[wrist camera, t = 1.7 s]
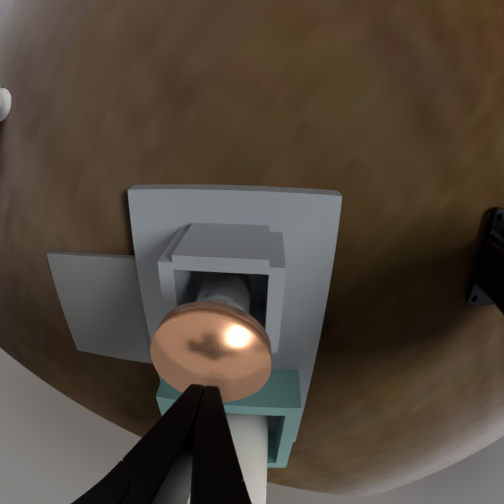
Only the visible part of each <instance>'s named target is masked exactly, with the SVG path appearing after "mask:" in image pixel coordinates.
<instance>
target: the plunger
mask: <svg viewBox="0 0 504 504" xmlns="http://www.w3.org/2000/svg"><path fill="white" fill-rule="evenodd" d="M250 296H251V281H250V278H249V276H248V275H247V274H245V273H225V272H207V273H206V274H205V276H204V279H203V282H202V285H201V287H200V290H199V293H198V296H197V298H196V301H195V302H190V303H186V304H183V305H180V306H178V307H176V308H174V309H173V310H171V311H170V312H168V313H167V314H166V315H165V316H164V318H163V319H162V320H161V322H160V324H159V326H158V329H157V331H156V333H155V335H154V337H153V340H152V342H151V346H150V355H151V360H152V363H153V365H154V367H155V369H156V370H157V372H158V373H159V375H160V376H161V377H162V378H163V379H164V380H165V381H166V382H167V383H168V384H170V385H171V386H172V387H174V388H175V389H177V390H178V391H180V392H182V393H183V392H184V391H185V390H186V389H187V387H188V386H189V385H190V384H202V385H204V386H206V385H212V386H218V387H219V389H220V393H221V397H222V401H223V402H227V401H235V400H239V399H242V398H246V397H248V396H250V395H252V394H254V393H255V392H257V391H258V390H260V389H261V388H262V387H263V386H264V385H265V383H266V382H267V380H268V378H269V376H270V372H271V342H270V339H269V336H268V334H267V333H266V331H265V329H264V328H263V327H262V325H261V324H260V323H259V322H258V321H257V320H256V319H255V318H253V317H252V316H251V315H249V306H250Z"/></svg>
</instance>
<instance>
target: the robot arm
mask: <svg viewBox="0 0 504 504" xmlns="http://www.w3.org/2000/svg"><path fill="white" fill-rule="evenodd" d="M498 214H499V217H498V218H497V216H498ZM473 296H474V297H473ZM472 297H473V298H472ZM466 301H467V302H468V303H469V304H470V305H489V304H494V305H495V306H496V307H497V308H498V309H499V310H500V312H501V313H502V314H503V315H504V208H499V207H496V208H494V209H493V210H492V212H491V215H490V219H489V223H488V227H487V231H486V235H485V239H484V242H483V246H482V249H481V253H480V256H479V259H478V263H477V266H476V269H475V272H474V275H473V278H472V281H471V284H470V287H469V289H468V292H467V295H466ZM189 495H190V504H252V502H251V499H250V496H249V494H248V490H247V487H246V484H245V481H244V478H243V474H242V471H241V467H240V464H239V460H238V457H237V453H236V450H235V446H234V443H233V439H232V435H231V432H230V428H229V424H228V420H227V416H226V412H225V409H224V405H223V401H222V397H221V393H220V389H219V387H218V386H212V385H206V386H204V385H202V384H190V385H189V386H188V387H187V389H186V390H185V391H184V392H183V393H182V394H181V395H180V396H179V398H178V399H177V400H176V401H175V402H174V403H173V404H172V405H171V407H170V408H169V409H168V410H167V411H166V412H165V413H164V414H163V415H162V417H161V418H160V419H159V420H158V421H157V422H156V423H155V424H154V425H153V426H152V428H151V429H150V430H149V431H148V432H147V433H146V434H145V435H144V436H143V437H142V438H141V440H140V441H139V442H138V443H137V444H136V445H135V446H134V447H133V448H132V449H131V450H130V451H129V453H128V454H127V455H126V456H125V457H124V458H123V461H120V462H119V463H118V464H117V465H116V466H115V467H114V468H113V469H112V470H111V471H110V472H109V473H108V474H107V475H106V476H105V477H104V478H103V479H102V480H101V481H99V482H98V483H97V484H96V485H95V486H93V487H92V488H91V489H90V490H88V491H87V492H86V493H85V494H83V495H82V496H80V497H79V498H78V499H76V500H75V501H74V502H72V503H71V504H187V502H188V499H189Z"/></svg>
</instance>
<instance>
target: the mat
mask: <svg viewBox="0 0 504 504" xmlns="http://www.w3.org/2000/svg"><path fill="white" fill-rule="evenodd" d="M47 257H48V261H49V265H50V269H51V272H52V276H53V280H54V283H55V287H56V290H57V293H58V297H59V300H60V303H61V306H62V309H63V312H64V315H65V318H66V321H67V324H68V327H69V329H70V332H71V335H72V338H73V340H74V343H75V345H76V348H77V350H79V351H84V352H88V353H93V354H98V355H103V356H109V357H114V358H120V359H125V360H131V361H137V362H144V363H151V364H153V363H152V360H151V355H150V346H151V340H150V336H149V331H148V326H147V321H146V316H145V311H144V306H143V301H142V295H141V289H140V283H139V277H138V271H137V265H136V258H135V256H134V255H116V254H99V253H82V252H65V251H49V252H48V253H47Z"/></svg>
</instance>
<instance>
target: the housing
mask: <svg viewBox="0 0 504 504" xmlns="http://www.w3.org/2000/svg"><path fill="white" fill-rule="evenodd" d="M128 200H129V210H130V219H131V228H132V236H133V244H134V251H135V258H136V265H137V271H138V277H139V283H140V289H141V295H142V301H143V306H144V311H145V316H146V321H147V326H148V331H149V336H150V340H151V342H152V340H153V337H154V335H155V333H156V331H157V329H158V326H159V324H160V322H161V320H162V319H163V318H164V316H165V315H166V314H167V313H168V312H170V311H171V310H173V309H174V308H176V307H178V306H180V305H183V304H186V303H190V302H195V301H196V298H197V296H198V293H199V290H200V287H201V285H202V282H203V279H204V276H205V274H206V273H207V272H225V273H245V274H247V275H248V276H249V278H250V281H251V296H250V306H249V315H251V316H252V317H253V318H255V319H256V320H257V321H258V322H259V323H260V324H261V325H262V327H263V328H264V329H265V331H266V333H267V334H268V336H269V339H270V342H271V372H270V376H269V378H268V380H267V382H266V383H265V385H264V386H263V387H262V388H261V389H260V390H258V391H257V392H255V393H254V394H252V395H250V396H248V397H246V398H242V399H239V400H235V401H227V402H223V405H224V409H225V412H226V413H234V414H249V415H269V417H268V453H267V467H286V465H287V461H288V458H289V454H290V451H291V447H292V443H293V442H295V440H296V437H297V433H298V429H299V426H300V422H301V418H302V414H303V410H304V406H305V402H306V398H307V394H308V390H309V386H310V381H311V377H312V373H313V368H314V364H315V359H316V354H317V350H318V345H319V340H320V335H321V330H322V325H323V320H324V314H325V309H326V303H327V298H328V292H329V286H330V280H331V274H332V268H333V261H334V255H335V248H336V241H337V234H338V226H339V219H340V211H341V202H342V195H341V194H340V193H339V192H338V191H336V190H323V189H308V188H291V187H272V186H247V185H205V184H151V185H134V186H133V187H131V188H130V189H128ZM158 374H159V373H158ZM159 378H160V382H161V383H160V385H159V388H158V391H157V394H156V399H157V402H158V405H159V409H160V412H161V415H163V414H164V413H165V412H166V411H167V410H168V409H169V408H170V407H171V405H172V404H173V403H174V402H175V401H176V400H177V399H178V398H179V396H180V395H181V394H182V392H180V391H178V390H177V389H175V388H174V387H172V386H171V385H170V384H168V383H167V382H166V381H165V380H164V379H163V378H162V377H161V376H160V375H159Z"/></svg>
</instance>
